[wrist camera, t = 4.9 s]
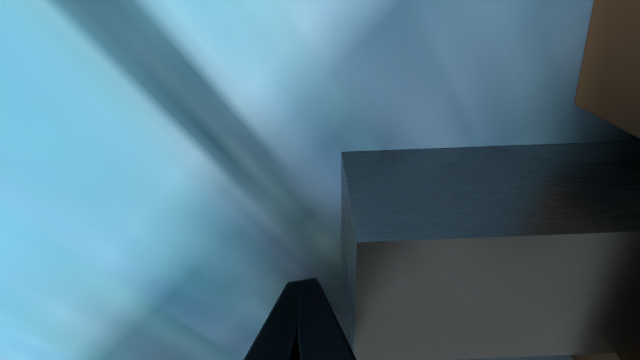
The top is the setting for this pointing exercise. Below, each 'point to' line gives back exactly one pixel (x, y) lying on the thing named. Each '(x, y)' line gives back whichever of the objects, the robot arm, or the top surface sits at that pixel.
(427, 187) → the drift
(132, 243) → the top surface
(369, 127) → the top surface
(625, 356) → the beam
